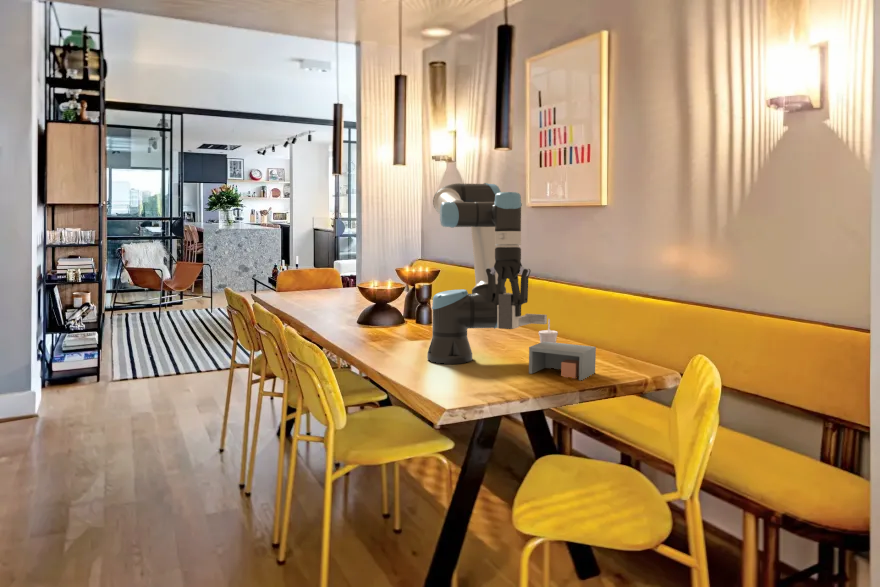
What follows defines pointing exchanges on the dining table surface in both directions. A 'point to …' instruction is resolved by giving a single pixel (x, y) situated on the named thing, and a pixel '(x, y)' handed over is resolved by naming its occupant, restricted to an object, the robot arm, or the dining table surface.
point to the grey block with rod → (506, 313)
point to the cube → (570, 368)
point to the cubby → (562, 357)
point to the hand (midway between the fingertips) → (507, 327)
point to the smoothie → (548, 334)
